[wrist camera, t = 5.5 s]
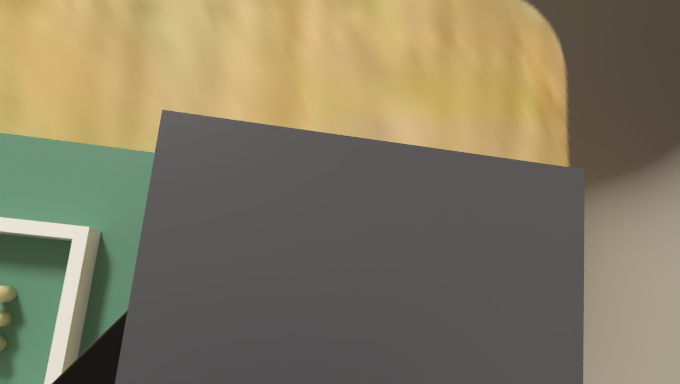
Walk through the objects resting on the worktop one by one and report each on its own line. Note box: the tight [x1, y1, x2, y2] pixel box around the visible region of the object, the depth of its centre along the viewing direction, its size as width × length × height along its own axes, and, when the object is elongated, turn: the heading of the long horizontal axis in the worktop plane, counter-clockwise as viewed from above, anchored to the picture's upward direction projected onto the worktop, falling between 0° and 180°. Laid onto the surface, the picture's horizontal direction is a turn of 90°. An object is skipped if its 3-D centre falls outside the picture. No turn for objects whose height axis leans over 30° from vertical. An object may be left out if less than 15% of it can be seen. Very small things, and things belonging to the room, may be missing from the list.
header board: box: [0, 133, 155, 384], centre depth 20 cm, size 14×9×2 cm, turn 175°
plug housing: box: [115, 110, 584, 384], centre depth 10 cm, size 5×4×12 cm
